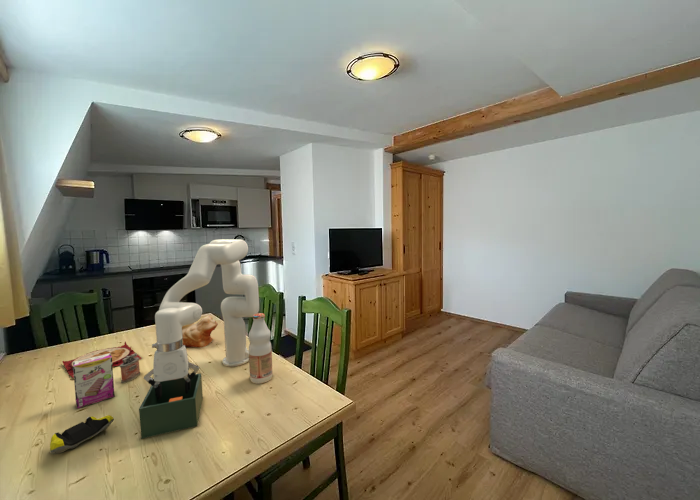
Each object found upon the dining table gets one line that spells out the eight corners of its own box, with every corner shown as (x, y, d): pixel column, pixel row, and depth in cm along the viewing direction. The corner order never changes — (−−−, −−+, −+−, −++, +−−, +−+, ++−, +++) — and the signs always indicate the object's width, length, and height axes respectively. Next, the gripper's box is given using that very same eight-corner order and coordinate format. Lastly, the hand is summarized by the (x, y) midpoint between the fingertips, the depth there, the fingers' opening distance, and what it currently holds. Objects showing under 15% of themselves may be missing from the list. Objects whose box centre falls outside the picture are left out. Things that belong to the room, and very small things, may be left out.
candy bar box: (76, 409, 108) (72, 366, 106) (76, 404, 111) (71, 361, 110) (115, 397, 116) (112, 356, 114) (113, 391, 119) (110, 352, 118)
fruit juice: (247, 384, 123) (243, 318, 121) (253, 373, 133) (250, 311, 130) (269, 383, 124) (267, 318, 121) (274, 372, 133) (272, 311, 131)
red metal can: (125, 383, 126) (123, 360, 125) (119, 382, 126) (117, 359, 125) (142, 373, 134) (140, 352, 133) (136, 373, 134) (134, 351, 133)
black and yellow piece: (117, 430, 97) (101, 422, 101) (116, 414, 96) (99, 406, 100) (56, 464, 83) (40, 452, 88) (54, 446, 83) (38, 435, 87)
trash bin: (202, 397, 115) (201, 373, 114) (197, 426, 98) (195, 397, 97) (155, 406, 109) (153, 381, 108) (141, 438, 93) (138, 409, 92)
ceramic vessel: (211, 348, 160) (210, 321, 159) (163, 348, 160) (161, 321, 159) (223, 338, 174) (221, 313, 173) (178, 338, 174) (176, 313, 173)
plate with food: (62, 365, 143) (61, 358, 143) (126, 346, 163) (126, 340, 163) (72, 381, 129) (71, 374, 128) (142, 358, 149) (141, 352, 148)
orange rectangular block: (183, 406, 108) (182, 396, 107) (179, 418, 101) (179, 407, 101) (170, 409, 106) (169, 398, 106) (166, 421, 100) (165, 410, 99)
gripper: (136, 353, 95) (140, 406, 96) (197, 345, 101) (200, 394, 103) (143, 344, 102) (147, 393, 103) (200, 337, 108) (202, 383, 110)
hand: (173, 393), depth 103 cm, fingers open, 7 cm apart
